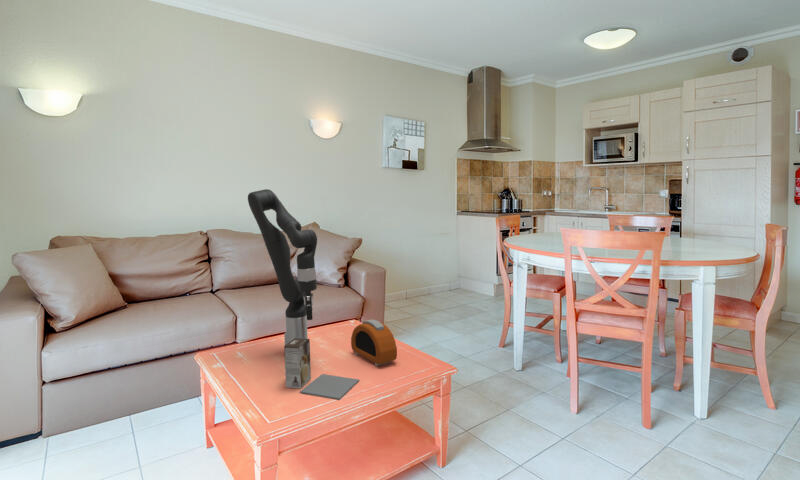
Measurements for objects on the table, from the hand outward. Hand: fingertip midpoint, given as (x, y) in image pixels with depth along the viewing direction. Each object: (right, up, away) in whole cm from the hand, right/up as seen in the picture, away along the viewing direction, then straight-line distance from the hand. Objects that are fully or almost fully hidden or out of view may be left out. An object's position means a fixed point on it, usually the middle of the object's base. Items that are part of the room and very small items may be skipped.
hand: (309, 316), depth 181 cm
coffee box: (-1, -22, -16) cm, 28 cm away
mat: (+12, -23, -20) cm, 32 cm away
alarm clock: (+26, -20, +8) cm, 34 cm away
